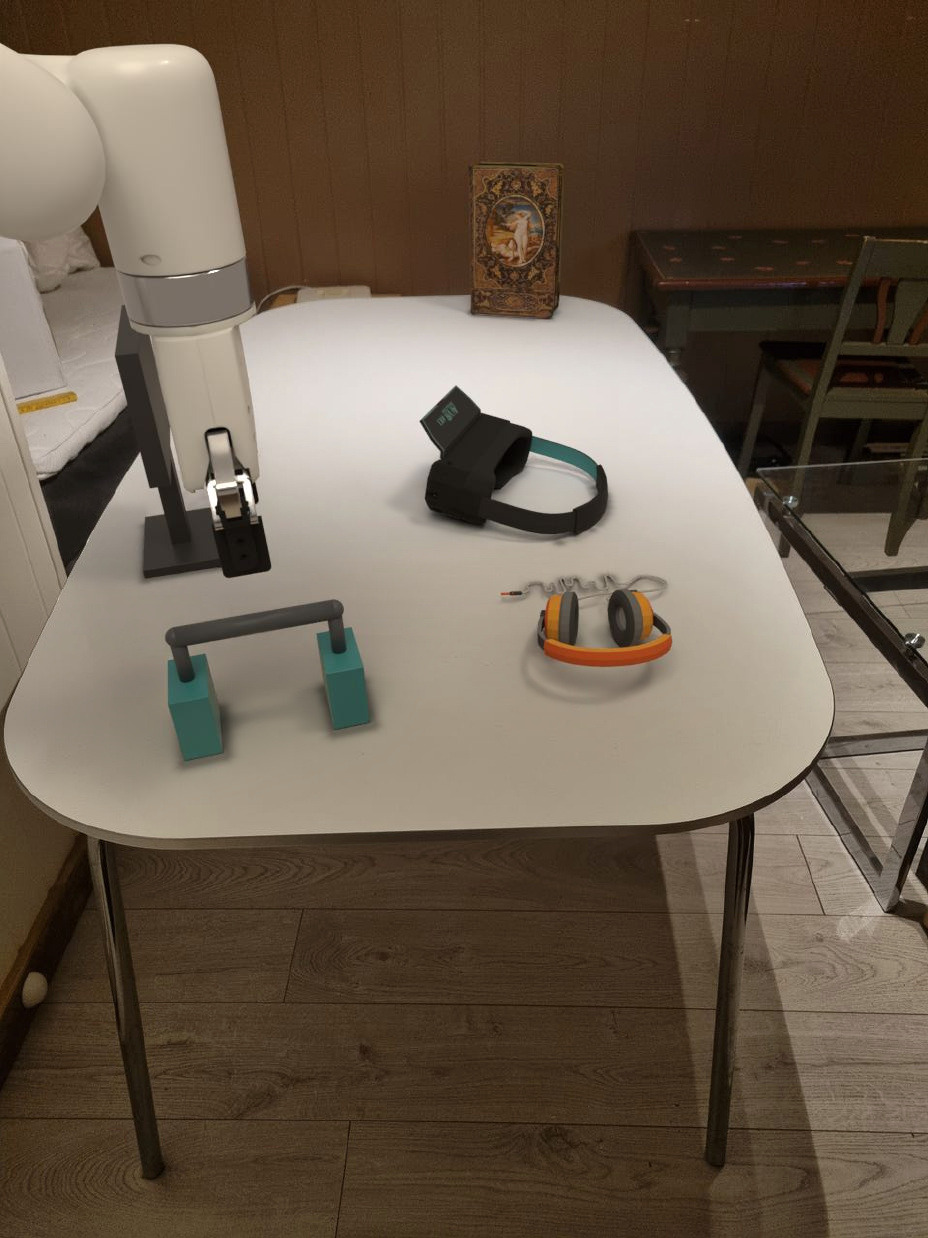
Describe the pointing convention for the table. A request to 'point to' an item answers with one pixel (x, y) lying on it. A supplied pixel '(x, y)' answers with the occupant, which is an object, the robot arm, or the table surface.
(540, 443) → the virtual reality headset
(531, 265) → the book
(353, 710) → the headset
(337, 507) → the table surface
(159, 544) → the monitor
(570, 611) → the headphones
